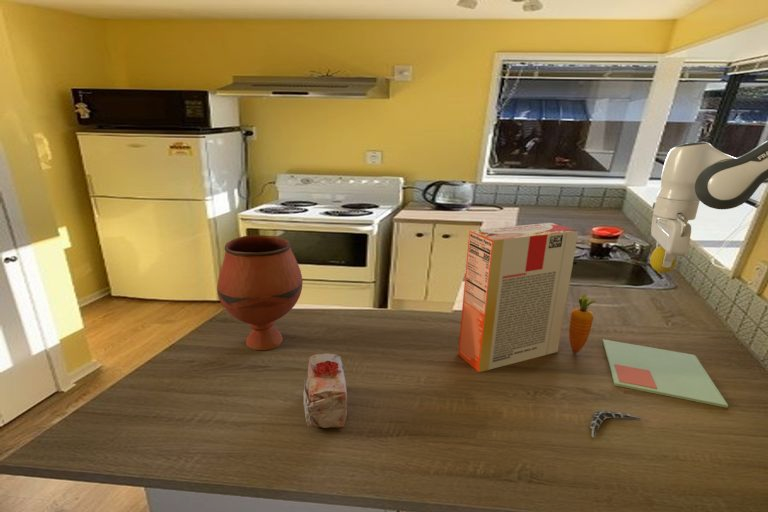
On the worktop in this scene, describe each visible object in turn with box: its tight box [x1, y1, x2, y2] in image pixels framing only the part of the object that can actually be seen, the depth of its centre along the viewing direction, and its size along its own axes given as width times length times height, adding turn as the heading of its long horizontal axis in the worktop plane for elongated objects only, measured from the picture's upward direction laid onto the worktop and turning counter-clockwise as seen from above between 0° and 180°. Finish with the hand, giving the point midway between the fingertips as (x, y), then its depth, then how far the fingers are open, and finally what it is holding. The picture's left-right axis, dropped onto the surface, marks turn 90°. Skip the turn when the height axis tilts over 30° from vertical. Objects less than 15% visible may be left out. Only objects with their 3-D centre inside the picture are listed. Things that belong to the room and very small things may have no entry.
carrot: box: [568, 293, 597, 354], centre depth 99 cm, size 5×5×15 cm
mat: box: [601, 338, 729, 409], centre depth 95 cm, size 20×20×1 cm
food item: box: [302, 352, 348, 429], centre depth 78 cm, size 14×8×10 cm, turn 11°
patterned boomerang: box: [589, 409, 644, 438], centre depth 78 cm, size 13×1×5 cm
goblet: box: [216, 234, 304, 351], centre depth 99 cm, size 19×19×25 cm
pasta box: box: [457, 222, 579, 373], centre depth 96 cm, size 23×8×30 cm, turn 114°
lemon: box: [649, 246, 677, 275], centre depth 109 cm, size 6×6×8 cm
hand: (662, 262), depth 109 cm, fingers closed on lemon, 5 cm apart
